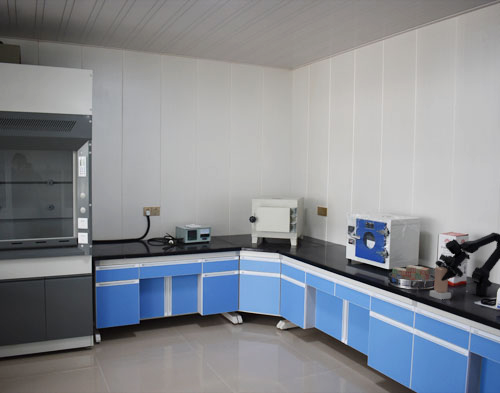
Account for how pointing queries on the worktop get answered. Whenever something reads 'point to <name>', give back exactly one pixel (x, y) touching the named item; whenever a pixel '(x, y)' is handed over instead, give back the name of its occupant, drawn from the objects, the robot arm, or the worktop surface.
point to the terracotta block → (439, 284)
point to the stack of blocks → (411, 273)
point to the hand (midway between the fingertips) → (439, 279)
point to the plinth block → (440, 294)
